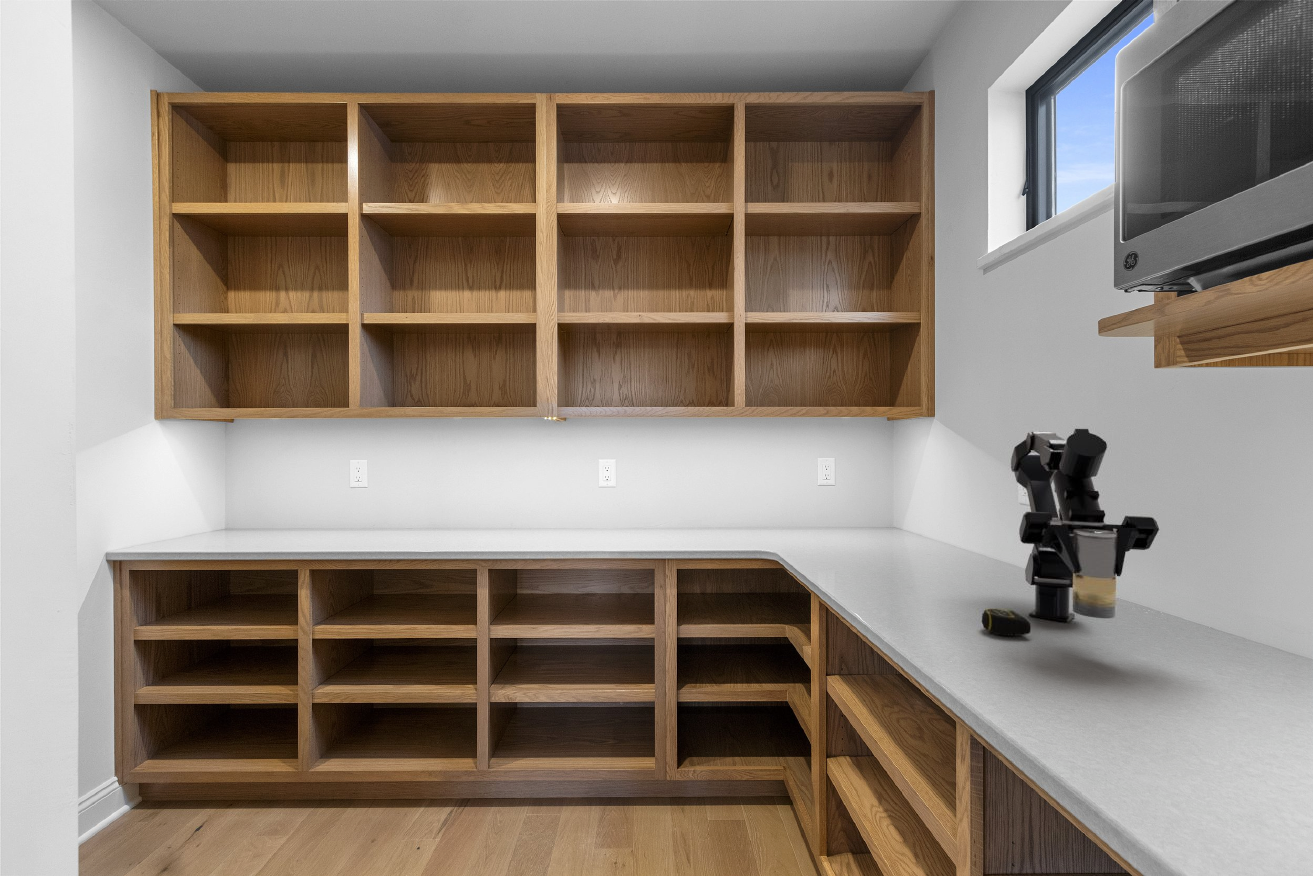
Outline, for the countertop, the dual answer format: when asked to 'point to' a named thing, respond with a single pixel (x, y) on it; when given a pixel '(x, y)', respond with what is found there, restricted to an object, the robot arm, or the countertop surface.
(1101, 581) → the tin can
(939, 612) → the countertop surface
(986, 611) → the tape measure
